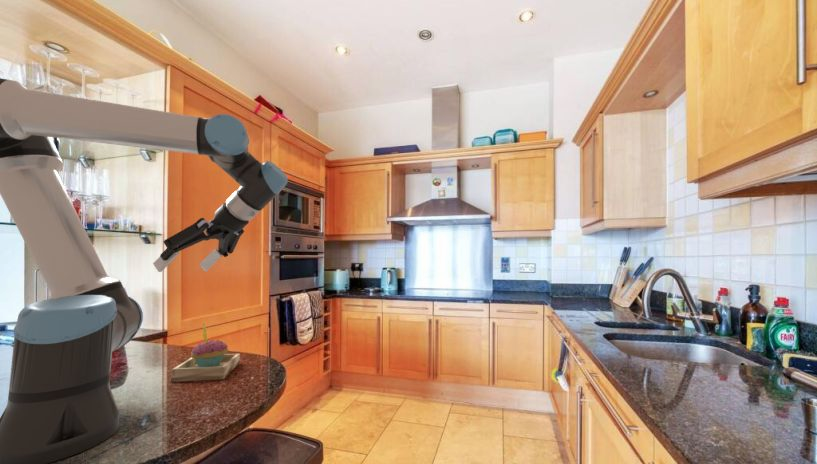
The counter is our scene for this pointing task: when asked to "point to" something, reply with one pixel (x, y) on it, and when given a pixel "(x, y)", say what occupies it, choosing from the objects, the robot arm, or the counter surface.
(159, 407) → the counter surface
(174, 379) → the maple box
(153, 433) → the counter surface
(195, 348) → the cupcake
